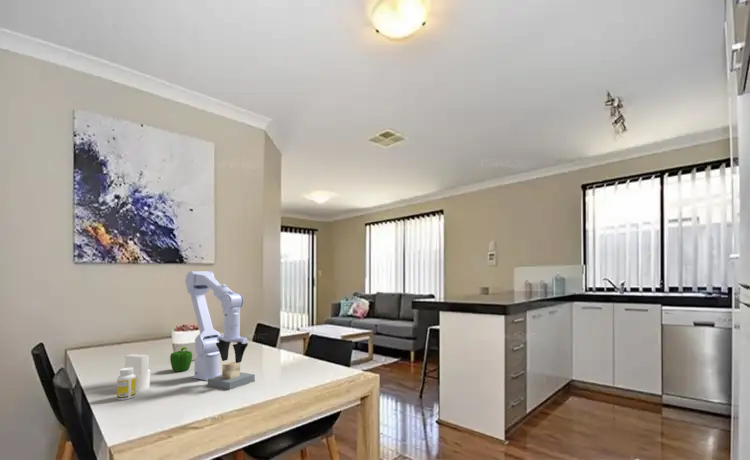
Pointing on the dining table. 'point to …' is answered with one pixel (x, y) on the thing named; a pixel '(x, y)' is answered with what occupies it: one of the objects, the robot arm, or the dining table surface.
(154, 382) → the dining table surface
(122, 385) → the supplement bottle
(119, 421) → the dining table surface
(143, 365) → the base with upright slab
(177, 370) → the bell pepper
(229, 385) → the slate plinth
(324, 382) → the dining table surface
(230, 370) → the ash block
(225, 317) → the robot arm
